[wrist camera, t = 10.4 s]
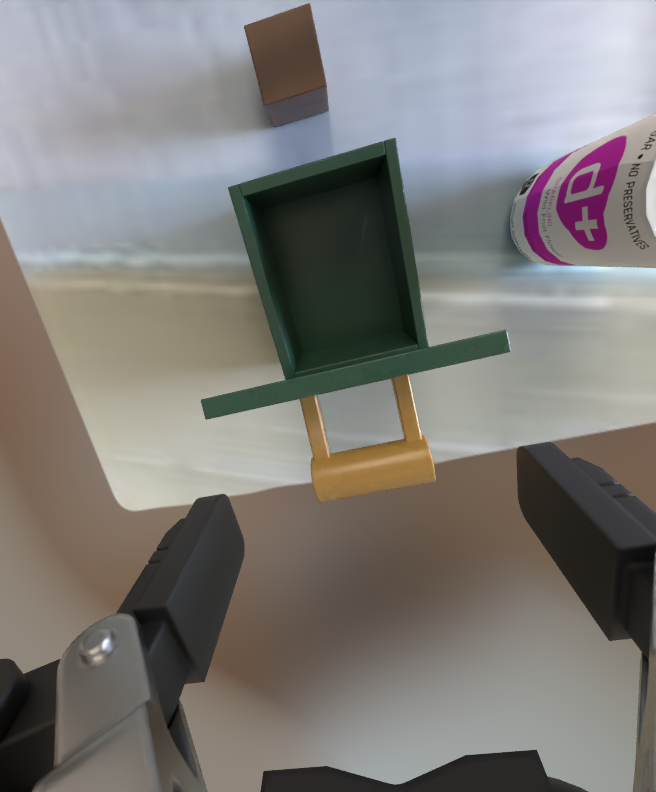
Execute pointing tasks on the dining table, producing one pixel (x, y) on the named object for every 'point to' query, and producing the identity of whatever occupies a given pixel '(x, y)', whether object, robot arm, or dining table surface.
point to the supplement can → (593, 204)
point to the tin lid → (377, 462)
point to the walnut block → (288, 65)
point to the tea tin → (334, 259)
